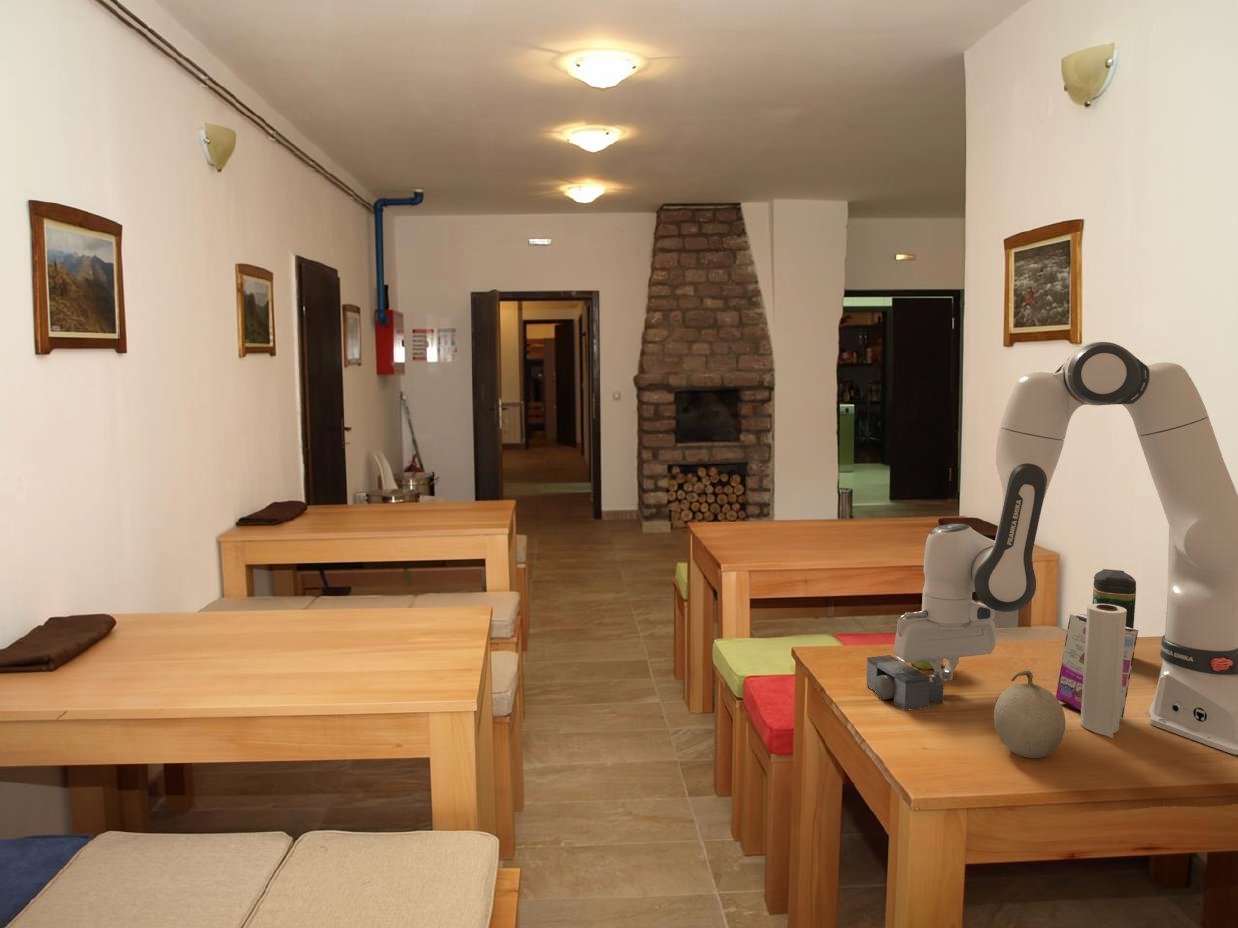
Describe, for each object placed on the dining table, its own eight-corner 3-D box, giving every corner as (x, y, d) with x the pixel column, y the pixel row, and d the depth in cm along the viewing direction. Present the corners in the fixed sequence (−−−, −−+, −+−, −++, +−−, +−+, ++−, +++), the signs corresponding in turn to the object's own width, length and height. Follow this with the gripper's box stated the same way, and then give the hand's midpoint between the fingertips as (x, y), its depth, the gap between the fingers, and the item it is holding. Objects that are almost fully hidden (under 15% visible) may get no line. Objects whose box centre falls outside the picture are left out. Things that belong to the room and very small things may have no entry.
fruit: (1040, 738, 161) (1045, 651, 159) (1075, 767, 150) (1081, 675, 148) (979, 739, 161) (983, 652, 159) (1009, 768, 149) (1014, 676, 147)
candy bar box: (1124, 721, 168) (1140, 629, 167) (1103, 720, 166) (1119, 628, 165) (1074, 699, 179) (1089, 613, 177) (1053, 699, 177) (1068, 612, 176)
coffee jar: (1134, 666, 197) (1140, 578, 194) (1091, 662, 199) (1096, 575, 197) (1127, 652, 206) (1133, 568, 203) (1087, 648, 208) (1092, 565, 206)
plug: (930, 686, 185) (932, 665, 184) (943, 696, 180) (946, 675, 179) (873, 693, 181) (875, 671, 180) (886, 703, 177) (888, 681, 176)
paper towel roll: (1085, 717, 170) (1092, 600, 167) (1122, 726, 166) (1130, 606, 163) (1074, 730, 164) (1081, 608, 161) (1112, 739, 160) (1120, 615, 158)
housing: (948, 705, 176) (949, 674, 175) (904, 710, 173) (905, 679, 172) (907, 681, 188) (908, 653, 187) (866, 686, 185) (867, 657, 185)
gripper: (907, 617, 175) (905, 690, 177) (1002, 609, 181) (998, 679, 183) (888, 608, 181) (886, 679, 183) (981, 600, 187) (977, 669, 189)
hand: (943, 679), depth 183 cm, fingers closed
